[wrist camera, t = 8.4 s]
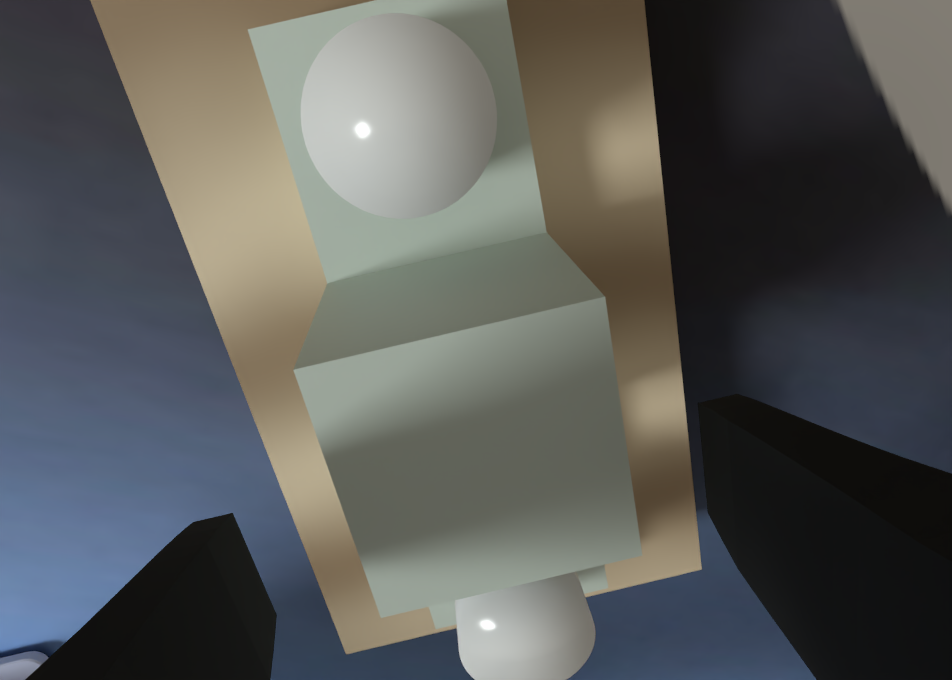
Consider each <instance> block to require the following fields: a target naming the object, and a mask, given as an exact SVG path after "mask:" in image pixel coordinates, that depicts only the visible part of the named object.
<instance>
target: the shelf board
mask: <svg viewBox="0 0 952 680" xmlns="http://www.w3.org/2000/svg"><path fill="white" fill-rule="evenodd" d="M90 1H91V3H92V6H93V8H94V11H95V14H96V16H97V19H98V21H99V24H100V26H101V29H102V31H103V34H104V37H105V39H106V42H107V44H108V47H109V49H110V52H111V54H112V57H113V60H114V62H115V65H116V67H117V70H118V72H119V75H120V77H121V80H122V83H123V85H124V88H125V90H126V93H127V95H128V98H129V100H130V103H131V106H132V108H133V111H134V113H135V116H136V118H137V121H138V123H139V126H140V129H141V131H142V134H143V136H144V139H145V141H146V144H147V146H148V149H149V152H150V154H151V157H152V159H153V162H154V164H155V167H156V169H157V172H158V175H159V177H160V180H161V182H162V185H163V187H164V190H165V192H166V195H167V198H168V200H169V203H170V205H171V208H172V210H173V213H174V215H175V218H176V221H177V223H178V226H179V228H180V231H181V233H182V236H183V239H184V241H185V244H186V246H187V249H188V251H189V254H190V256H191V259H192V262H193V264H194V267H195V269H196V272H197V274H198V277H199V279H200V282H201V285H202V287H203V290H204V292H205V295H206V297H207V300H208V302H209V305H210V308H211V310H212V313H213V315H214V318H215V320H216V323H217V325H218V328H219V331H220V333H221V336H222V338H223V341H224V343H225V346H226V348H227V351H228V354H229V356H230V359H231V361H232V364H233V366H234V369H235V371H236V374H237V377H238V379H239V382H240V384H241V387H242V389H243V392H244V394H245V397H246V400H247V402H248V405H249V407H250V410H251V412H252V415H253V417H254V420H255V423H256V425H257V428H258V430H259V433H260V435H261V438H262V441H263V443H264V446H265V448H266V451H267V453H268V456H269V458H270V461H271V464H272V466H273V469H274V471H275V474H276V476H277V479H278V481H279V484H280V487H281V489H282V492H283V494H284V497H285V499H286V502H287V504H288V507H289V510H290V512H291V515H292V517H293V520H294V522H295V525H296V527H297V530H298V533H299V535H300V538H301V540H302V543H303V545H304V548H305V550H306V553H307V556H308V558H309V561H310V563H311V566H312V568H313V571H314V573H315V576H316V579H317V581H318V584H319V586H320V589H321V591H322V594H323V596H324V599H325V602H326V604H327V607H328V609H329V612H330V614H331V617H332V619H333V622H334V625H335V627H336V630H337V632H338V635H339V637H340V640H341V642H342V645H343V648H344V650H345V653H346V654H350V653H355V652H359V651H363V650H367V649H371V648H375V647H380V646H384V645H388V644H392V643H396V642H401V641H405V640H409V639H413V638H417V637H421V636H426V635H430V634H434V633H438V632H442V631H447V630H451V629H455V628H457V624H456V625H452V626H448V627H443V628H439V629H436V628H435V625H434V622H433V619H432V616H431V612H430V609H429V607H425V608H421V609H417V610H413V611H408V612H404V613H400V614H396V615H392V616H387V617H383V618H381V617H380V614H379V611H378V608H377V605H376V603H375V600H374V597H373V594H372V591H371V588H370V586H369V583H368V580H367V577H366V574H365V572H364V569H363V566H362V563H361V560H360V557H359V555H358V552H357V549H356V546H355V543H354V540H353V538H352V535H351V532H350V529H349V526H348V523H347V521H346V518H345V515H344V512H343V509H342V506H341V504H340V501H339V498H338V495H337V492H336V489H335V487H334V484H333V481H332V478H331V475H330V472H329V470H328V467H327V464H326V461H325V458H324V455H323V453H322V450H321V447H320V444H319V441H318V439H317V436H316V433H315V430H314V427H313V424H312V422H311V419H310V416H309V413H308V410H307V407H306V405H305V402H304V399H303V396H302V393H301V390H300V388H299V385H298V382H297V379H296V376H295V373H294V371H293V369H294V367H295V364H296V362H297V359H298V356H299V354H300V351H301V349H302V346H303V344H304V341H305V339H306V336H307V334H308V331H309V329H310V326H311V323H312V321H313V318H314V316H315V313H316V311H317V308H318V306H319V303H320V301H321V298H322V296H323V293H324V290H325V288H326V285H327V281H326V278H325V275H324V271H323V268H322V265H321V262H320V259H319V255H318V252H317V249H316V246H315V243H314V240H313V236H312V233H311V230H310V227H309V224H308V220H307V217H306V214H305V211H304V208H303V204H302V201H301V198H300V195H299V192H298V189H297V185H296V182H295V179H294V176H293V173H292V169H291V166H290V163H289V160H288V157H287V153H286V150H285V147H284V144H283V141H282V138H281V134H280V131H279V128H278V125H277V122H276V118H275V115H274V112H273V109H272V106H271V102H270V99H269V96H268V93H267V90H266V87H265V83H264V80H263V77H262V74H261V71H260V67H259V64H258V61H257V58H256V55H255V51H254V48H253V45H252V42H251V39H250V36H249V32H248V29H252V28H256V27H261V26H265V25H269V24H274V23H278V22H283V21H287V20H291V19H296V18H300V17H304V16H309V15H313V14H318V13H322V12H326V11H331V10H335V9H339V8H344V7H348V6H352V5H357V4H361V3H366V2H370V1H374V0H90ZM507 6H508V12H509V18H510V23H511V29H512V35H513V41H514V47H515V52H516V58H517V64H518V70H519V75H520V81H521V87H522V93H523V98H524V104H525V110H526V116H527V122H528V127H529V133H530V139H531V145H532V150H533V156H534V162H535V168H536V173H537V179H538V185H539V191H540V197H541V202H542V208H543V214H544V220H545V225H546V231H547V233H548V234H549V235H550V236H551V238H552V239H553V240H554V241H555V242H556V243H557V244H558V245H559V246H560V247H561V249H562V250H563V251H564V252H565V253H566V254H567V255H568V256H569V257H570V259H571V260H572V261H573V262H574V263H575V264H576V265H577V266H578V267H579V268H580V270H581V271H582V272H583V273H584V274H585V275H586V276H587V277H588V278H589V279H590V281H591V282H592V283H593V284H594V285H595V286H596V287H597V288H598V289H599V290H600V292H601V293H602V294H603V295H604V296H605V299H606V306H607V313H608V320H609V327H610V334H611V341H612V348H613V355H614V362H615V369H616V376H617V383H618V390H619V397H620V403H621V410H622V417H623V424H624V431H625V438H626V445H627V452H628V459H629V466H630V473H631V480H632V487H633V494H634V501H635V508H636V515H637V521H638V528H639V535H640V542H641V549H642V556H639V557H634V558H630V559H626V560H622V561H618V562H614V563H609V564H605V565H604V566H605V571H606V577H607V583H608V588H606V589H602V590H598V591H594V592H590V593H586V594H584V595H585V597H589V596H593V595H597V594H601V593H605V592H610V591H614V590H618V589H622V588H626V587H631V586H635V585H639V584H643V583H647V582H651V581H656V580H660V579H664V578H668V577H672V576H677V575H681V574H685V573H689V572H693V571H697V570H702V567H701V557H700V547H699V537H698V528H697V518H696V508H695V498H694V488H693V478H692V468H691V458H690V448H689V438H688V429H687V419H686V409H685V399H684V389H683V379H682V369H681V359H680V349H679V340H678V330H677V320H676V310H675V300H674V290H673V280H672V270H671V260H670V250H669V241H668V231H667V221H666V211H665V201H664V191H663V181H662V171H661V161H660V152H659V142H658V132H657V122H656V112H655V102H654V92H653V82H652V72H651V62H650V53H649V43H648V33H647V23H646V13H645V3H644V0H507Z"/></svg>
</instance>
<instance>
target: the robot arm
mask: <svg viewBox="0 0 952 680" xmlns="http://www.w3.org/2000/svg"><path fill="white" fill-rule="evenodd" d="M698 410H699V421H700V432H701V443H702V454H703V465H704V476H705V487H706V498H707V509H708V514H709V516H710V518H711V520H712V521H713V523H714V525H715V527H716V529H717V531H718V533H719V535H720V537H721V539H722V541H723V543H724V544H725V546H726V548H727V550H728V552H729V553H730V555H731V557H732V559H733V561H734V563H735V564H736V566H737V568H738V570H739V571H740V572H741V574H742V575H743V577H744V578H745V580H746V581H747V583H748V584H749V585H750V587H751V588H752V590H753V591H754V593H755V594H756V595H757V597H758V598H759V600H760V601H761V602H762V604H763V605H764V607H765V608H766V610H767V611H768V612H769V614H770V615H771V617H772V618H773V619H774V621H775V622H776V624H777V625H778V626H779V628H780V629H781V630H782V632H783V633H784V635H785V636H786V637H787V639H788V640H789V642H790V643H791V644H792V646H793V647H794V649H795V650H796V651H797V653H798V654H799V656H800V657H801V658H802V660H803V661H804V663H805V664H806V665H807V667H808V668H809V669H810V671H811V672H812V674H813V675H814V676H815V678H816V679H817V680H952V474H951V473H948V472H945V471H942V470H939V469H936V468H933V467H930V466H927V465H924V464H921V463H918V462H915V461H912V460H909V459H906V458H903V457H900V456H898V455H895V454H892V453H889V452H887V451H884V450H881V449H878V448H876V447H873V446H870V445H868V444H865V443H862V442H860V441H857V440H854V439H852V438H849V437H847V436H844V435H842V434H839V433H837V432H834V431H832V430H829V429H827V428H824V427H821V426H819V425H816V424H814V423H812V422H809V421H807V420H804V419H802V418H799V417H797V416H794V415H792V414H789V413H787V412H784V411H782V410H779V409H777V408H774V407H772V406H769V405H767V404H764V403H762V402H759V401H756V400H754V399H751V398H748V397H745V396H742V395H739V394H735V395H731V396H727V397H722V398H718V399H714V400H710V401H705V402H701V403H698ZM276 616H277V615H276V612H275V610H274V608H273V605H272V603H271V601H270V599H269V596H268V594H267V592H266V589H265V587H264V585H263V582H262V580H261V578H260V575H259V573H258V571H257V568H256V566H255V564H254V561H253V559H252V557H251V554H250V552H249V550H248V547H247V545H246V543H245V540H244V538H243V536H242V534H241V531H240V529H239V527H238V524H237V522H236V520H235V517H234V515H233V513H230V514H226V515H222V516H218V517H213V518H209V519H205V520H201V521H196V522H193V523H192V524H190V525H189V526H188V527H187V528H185V529H184V530H183V531H182V532H181V533H180V534H178V535H177V536H176V537H175V538H174V539H173V540H172V541H171V542H170V543H169V544H167V545H166V546H165V547H164V548H163V549H162V550H161V551H160V552H159V553H158V554H157V555H156V556H155V557H154V558H153V559H152V560H151V561H150V562H149V563H148V564H147V565H146V566H145V567H144V568H143V569H142V570H141V571H140V572H139V573H137V574H136V575H135V576H134V577H133V578H132V579H131V580H130V581H129V582H128V583H127V584H126V585H125V586H124V587H123V588H122V589H121V590H120V591H119V592H118V593H117V594H116V595H115V596H114V597H113V598H112V599H111V600H110V601H109V602H108V603H107V604H106V605H105V606H104V607H103V608H102V609H101V610H100V611H98V612H97V613H96V614H95V615H94V616H93V617H92V618H91V619H90V620H89V621H88V622H87V623H86V624H85V625H84V626H83V627H82V628H81V629H80V630H79V631H78V632H77V633H75V634H74V635H73V636H72V637H71V638H70V639H69V640H68V641H67V642H66V643H65V644H63V645H62V646H61V647H60V648H59V649H58V650H57V651H56V652H55V653H54V654H53V655H51V656H50V657H49V658H48V657H47V656H46V655H45V654H43V653H41V652H37V651H30V652H24V653H20V654H16V655H12V656H7V657H3V658H0V680H270V676H271V668H272V659H273V651H274V639H275V628H276Z"/></svg>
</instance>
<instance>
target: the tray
mask: <svg viewBox="0 0 952 680" xmlns="http://www.w3.org/2000/svg"><path fill="white" fill-rule="evenodd" d="M248 32H249V36H250V39H251V42H252V45H253V48H254V51H255V55H256V58H257V61H258V64H259V67H260V71H261V74H262V77H263V80H264V83H265V87H266V90H267V93H268V96H269V99H270V102H271V106H272V109H273V112H274V115H275V118H276V122H277V125H278V128H279V131H280V134H281V138H282V141H283V144H284V147H285V150H286V153H287V157H288V160H289V163H290V166H291V169H292V173H293V176H294V179H295V182H296V185H297V189H298V192H299V195H300V198H301V201H302V204H303V208H304V211H305V214H306V217H307V220H308V224H309V227H310V230H311V233H312V236H313V240H314V243H315V246H316V249H317V252H318V255H319V259H320V262H321V265H322V268H323V271H324V275H325V278H326V281H327V285H326V288H325V290H324V293H323V296H322V298H321V301H320V303H319V306H318V308H317V311H316V313H315V316H314V318H313V321H312V323H311V326H310V329H309V331H308V334H307V336H306V339H305V341H304V344H303V346H302V349H301V351H300V354H299V356H298V359H297V362H296V364H295V367H294V369H293V371H294V373H295V376H296V379H297V382H298V385H299V388H300V390H301V393H302V396H303V399H304V402H305V405H306V407H307V410H308V413H309V416H310V419H311V422H312V424H313V427H314V430H315V433H316V436H317V439H318V441H319V444H320V447H321V450H322V453H323V455H324V458H325V461H326V464H327V467H328V470H329V472H330V475H331V478H332V481H333V484H334V487H335V489H336V492H337V495H338V498H339V501H340V504H341V506H342V509H343V512H344V515H345V518H346V521H347V523H348V526H349V529H350V532H351V535H352V538H353V540H354V543H355V546H356V549H357V552H358V555H359V557H360V560H361V563H362V566H363V569H364V572H365V574H366V577H367V580H368V583H369V586H370V588H371V591H372V594H373V597H374V600H375V603H376V605H377V608H378V611H379V614H380V617H381V618H383V617H387V616H392V615H396V614H400V613H404V612H408V611H413V610H417V609H421V608H425V607H429V609H430V612H431V616H432V619H433V622H434V625H435V628H436V629H439V628H443V627H448V626H452V625H456V624H457V635H458V647H459V655H460V659H461V662H462V664H463V666H464V668H465V669H466V671H467V672H468V673H469V674H470V676H471V677H473V678H474V679H475V680H567V679H568V678H570V677H571V676H572V675H573V674H575V673H576V672H577V671H578V670H579V669H580V668H581V667H582V666H583V665H584V663H585V662H586V661H587V659H588V658H589V656H590V654H591V652H592V649H593V647H594V643H595V634H596V632H595V625H594V622H593V618H592V615H591V612H590V610H589V607H588V604H587V601H586V598H585V595H584V594H586V593H590V592H594V591H598V590H602V589H606V588H608V583H607V577H606V571H605V566H604V565H605V564H609V563H614V562H618V561H622V560H626V559H630V558H634V557H639V556H642V549H641V542H640V535H639V528H638V521H637V515H636V508H635V501H634V494H633V487H632V480H631V473H630V466H629V459H628V452H627V445H626V438H625V431H624V424H623V417H622V410H621V403H620V397H619V390H618V383H617V376H616V369H615V362H614V355H613V348H612V341H611V334H610V327H609V320H608V313H607V306H606V299H605V296H604V295H603V294H602V293H601V292H600V290H599V289H598V288H597V287H596V286H595V285H594V284H593V283H592V282H591V281H590V279H589V278H588V277H587V276H586V275H585V274H584V273H583V272H582V271H581V270H580V268H579V267H578V266H577V265H576V264H575V263H574V262H573V261H572V260H571V259H570V257H569V256H568V255H567V254H566V253H565V252H564V251H563V250H562V249H561V247H560V246H559V245H558V244H557V243H556V242H555V241H554V240H553V239H552V238H551V236H550V235H549V234H548V233H547V231H546V225H545V220H544V214H543V208H542V202H541V197H540V191H539V185H538V179H537V173H536V168H535V162H534V156H533V150H532V145H531V139H530V133H529V127H528V122H527V116H526V110H525V104H524V98H523V93H522V87H521V81H520V75H519V70H518V64H517V58H516V52H515V47H514V41H513V35H512V29H511V23H510V18H509V12H508V6H507V0H374V1H370V2H366V3H361V4H357V5H352V6H348V7H344V8H339V9H335V10H331V11H326V12H322V13H318V14H313V15H309V16H304V17H300V18H296V19H291V20H287V21H283V22H278V23H274V24H269V25H265V26H261V27H256V28H252V29H248Z"/></svg>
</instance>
